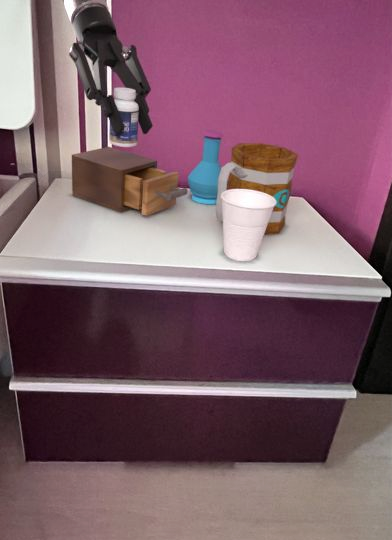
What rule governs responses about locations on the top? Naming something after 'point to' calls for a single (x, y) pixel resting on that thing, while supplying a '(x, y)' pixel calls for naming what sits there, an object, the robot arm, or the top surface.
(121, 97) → the pill bottle
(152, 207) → the drawer
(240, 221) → the cup
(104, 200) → the cabinet
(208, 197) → the perfume bottle
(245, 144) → the mug
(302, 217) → the top surface
